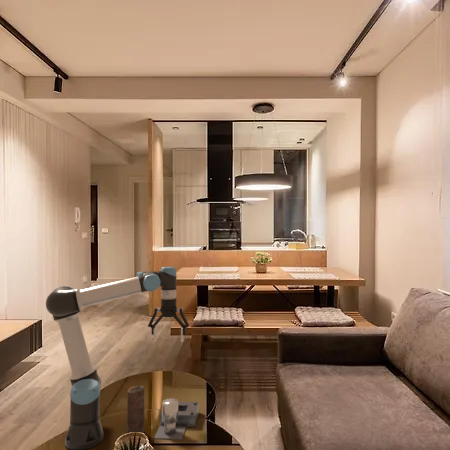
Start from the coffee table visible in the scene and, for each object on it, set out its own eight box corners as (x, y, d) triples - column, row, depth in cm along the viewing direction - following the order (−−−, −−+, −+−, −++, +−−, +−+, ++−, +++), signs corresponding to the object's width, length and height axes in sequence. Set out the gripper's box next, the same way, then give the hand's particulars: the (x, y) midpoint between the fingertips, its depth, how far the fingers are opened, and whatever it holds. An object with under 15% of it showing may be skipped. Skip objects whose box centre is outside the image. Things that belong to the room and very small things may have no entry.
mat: (153, 438, 154) (153, 437, 154) (159, 426, 164) (159, 426, 164) (181, 439, 153) (181, 438, 153) (185, 427, 163) (185, 426, 163)
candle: (139, 440, 153) (139, 391, 154) (123, 438, 155) (124, 390, 156) (146, 430, 161) (147, 384, 162) (131, 429, 162) (132, 383, 163)
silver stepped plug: (160, 436, 155) (160, 405, 156) (164, 427, 162) (164, 398, 163) (176, 436, 155) (176, 405, 156) (179, 428, 162) (179, 398, 163)
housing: (160, 425, 165) (160, 413, 165) (166, 411, 179) (167, 400, 179) (194, 426, 164) (194, 414, 164) (199, 412, 178) (199, 401, 178)
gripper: (141, 299, 177) (141, 343, 176) (192, 299, 175) (192, 343, 174) (146, 296, 184) (145, 339, 183) (194, 297, 183) (194, 339, 182)
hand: (168, 341), depth 179 cm, fingers open, 13 cm apart
